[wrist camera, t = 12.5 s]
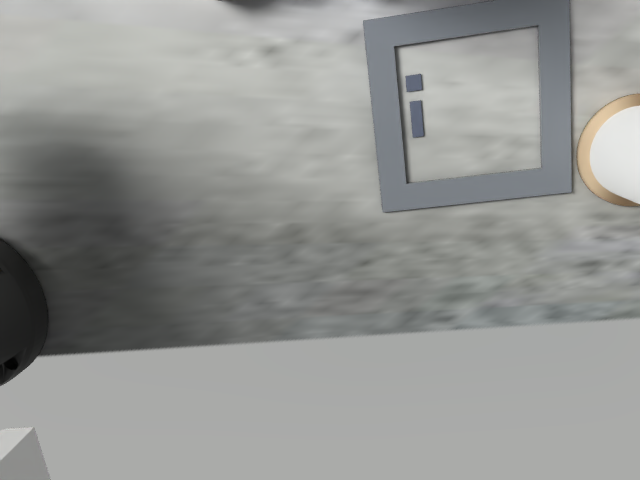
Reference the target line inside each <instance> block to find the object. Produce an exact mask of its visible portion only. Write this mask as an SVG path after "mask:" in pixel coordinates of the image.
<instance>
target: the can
mask: <svg viewBox="0 0 640 480" xmlns="http://www.w3.org/2000/svg"><path fill="white" fill-rule="evenodd" d="M590 166H591V169H592V172H593V174H594V176H595V178H596V179H597V181H598V182H599V183H600V184H601V185H602V186H603V187H604V188H605V189H607V190H608V191H610V192H612V193H614V194H616V195H619V196H621V197H623V198H626V199H628V200H630V201H633V202H635V203H638V204H640V106H634V107H630V108H627V109H624V110H622V111H620V112H618V113H616V114H614V115H613V116H612V117H610V118H609V119H608V120H607V121H606V122H605V123H604V124H603V125H602V126H601V127H600V129H599V130H598V131H597V133H596V135H595V137H594V139H593V142H592V145H591V149H590Z"/></svg>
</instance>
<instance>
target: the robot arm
mask: <svg viewBox="0 0 640 480" xmlns="http://www.w3.org/2000/svg"><path fill="white" fill-rule="evenodd" d="M47 327H48V314H47V306H46V302H45V298H44V295H43V292H42V289H41V287H40V284H39V282H38V280H37V278H36V277H35V275H34V273H33V272H32V270H31V269H30V267H29V266H28V265H27V263H26V262H25V261H24V260H23V259H22V258H21V257H20V255H19V254H18V253H17V252H15V251H14V250H13V249H12V248H11V247H10V246H9V245H7V244H6V243H5V242H3V241H2V240H0V386H1V385H3V384H5V383H7V382H8V381H10V380H11V379H13V378H14V377H15V376H17V375H18V374H19V373H20V372H22V371H23V370H24V369H25V368H27V367H28V366H29V365H30V364H31V363H32V362H33V361H34V360H35V358H36V357H37V356H38V354H39V352H40V351H41V349H42V347H43V344H44V341H45V338H46V334H47ZM0 480H51V479H50V476H49V473H48V470H47V467H46V463H45V460H44V457H43V454H42V450H41V447H40V444H39V441H38V438H37V435H36V431H35V428H34V427H27V428H13V429H3V430H1V431H0Z"/></svg>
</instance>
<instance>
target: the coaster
mask: <svg viewBox="0 0 640 480" xmlns="http://www.w3.org/2000/svg"><path fill="white" fill-rule="evenodd" d="M634 106H640V94H632V95H627V96H624V97H621V98H618V99H616V100H614V101H612V102H610V103H609V104H607V105H605V106H604V107H603V108H601V109H600V110H599V111H598V112H597V113H596V114H595V115H594V116H593V117H592V118H591V119H590V120H589V122H588V123H587V125H586V126H585V128H584V130H583V132H582V134H581V136H580V139H579V142H578V147H577V156H576V158H577V166H578V171H579V174H580V176H581V178H582V180H583V182H584V183H585V185H586V186H587V187H588V189H589V190H591V191H592V192H593V193H594V194H595V195H597V196H598V197H600V198H602V199H604V200H606V201H608V202H610V203H613V204H617V205H622V206H639V205H640V204H638V203H635V202H633V201H630V200H628V199H626V198H623V197H621V196H619V195H616V194H614V193H612V192H610V191H608V190H607V189H605V188H604V187H603V186H602V185H601V184H600V183H599V182H598V181H597V179H596V178H595V176H594V174H593V172H592V169H591V166H590V149H591V145H592V142H593V139H594V137H595V135H596V133H597V131H598V130H599V129H600V127H601V126H602V125H603V124H604V123H605V122H606V121H607V120H608V119H609V118H610V117H612V116H613V115H614V114H616V113H618V112H620V111H622V110H624V109H627V108H630V107H634Z"/></svg>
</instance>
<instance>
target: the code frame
mask: <svg viewBox="0 0 640 480" xmlns="http://www.w3.org/2000/svg"><path fill="white" fill-rule="evenodd" d="M363 26H364V36H365V45H366V55H367V65H368V74H369V84H370V94H371V103H372V113H373V123H374V132H375V142H376V152H377V161H378V171H379V181H380V191H381V200H382V210H383V212H390V211H400V210H409V209H419V208H428V207H437V206H447V205H456V204H465V203H475V202H484V201H494V200H503V199H512V198H522V197H531V196H540V195H550V194H559V193H569V192H572V181H571V89H570V0H494V1H488V2H481V3H475V4H468V5H462V6H455V7H449V8H442V9H436V10H429V11H423V12H416V13H410V14H403V15H397V16H390V17H384V18H377V19H371V20H364V21H363ZM531 26H538V57H539V97H540V136H541V168H536V169H527V170H518V171H509V172H500V173H492V174H483V175H474V176H465V177H456V178H447V179H439V180H430V181H421V182H412V183H406V174H405V163H404V152H403V141H402V130H401V119H400V108H399V97H398V86H397V75H396V64H395V52H394V46H401V45H408V44H415V43H422V42H429V41H435V40H442V39H449V38H456V37H463V36H470V35H476V34H483V33H490V32H497V31H504V30H511V29H517V28H524V27H531ZM405 77H406V88H407V92H408V91H416V90H422V83H421V74H418V75H410V76H405ZM410 111H411V122H412V134H413V137H421V136H424V134H423V121H422V109H421V100H420V101H413V102H410Z"/></svg>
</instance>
